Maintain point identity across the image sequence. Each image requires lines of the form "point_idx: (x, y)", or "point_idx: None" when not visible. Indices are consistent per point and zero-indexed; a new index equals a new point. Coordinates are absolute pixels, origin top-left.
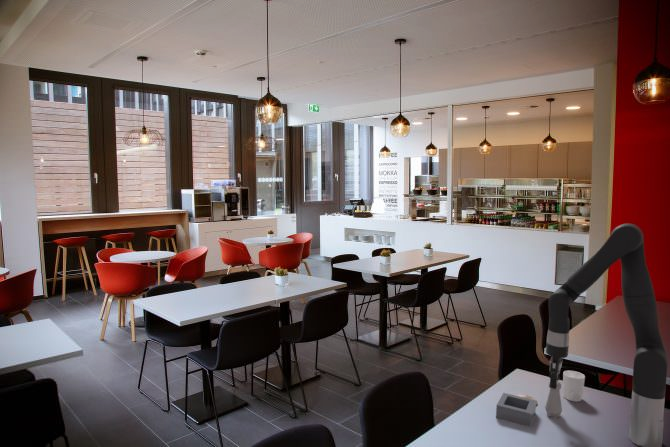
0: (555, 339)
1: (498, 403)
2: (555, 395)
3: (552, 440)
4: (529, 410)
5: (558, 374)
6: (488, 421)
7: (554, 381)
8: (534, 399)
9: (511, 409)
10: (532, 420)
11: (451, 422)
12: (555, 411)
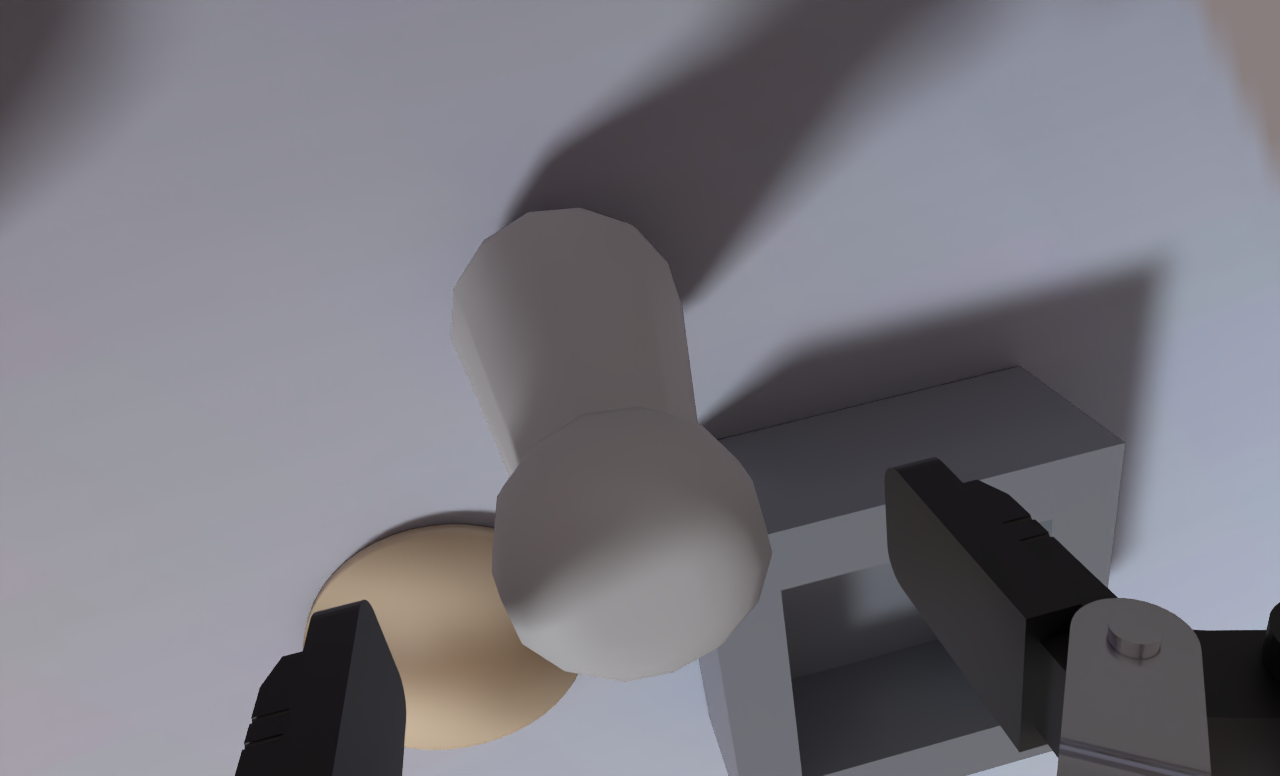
0: None
1: (1044, 746)
2: (684, 399)
3: (1205, 76)
4: (1048, 486)
5: (347, 738)
6: None
7: (1096, 598)
8: (343, 596)
9: None
10: (872, 403)
11: None
12: (667, 270)
